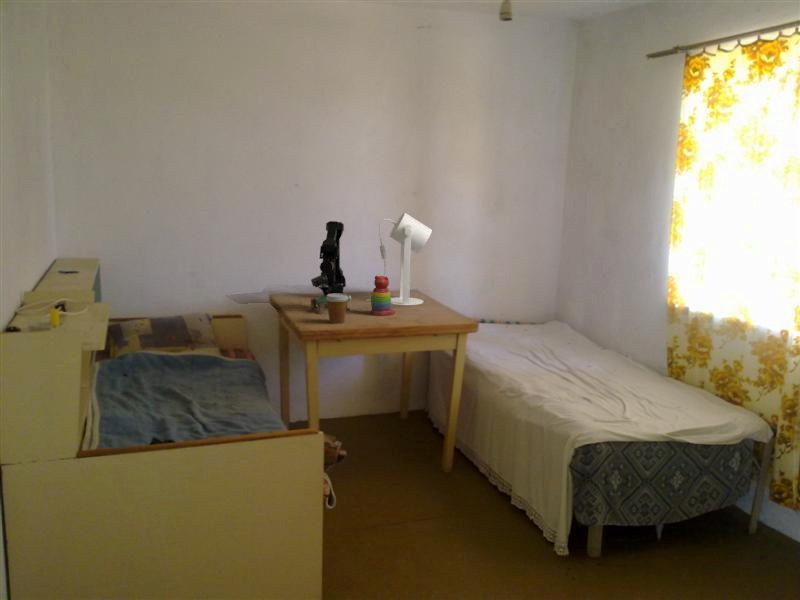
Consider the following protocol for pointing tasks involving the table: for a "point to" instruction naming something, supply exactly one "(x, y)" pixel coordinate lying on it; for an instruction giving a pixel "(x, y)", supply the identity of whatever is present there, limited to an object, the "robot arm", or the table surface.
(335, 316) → the disposable coffee cup
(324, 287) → the robot arm
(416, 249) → the desk lamp
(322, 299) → the bottle
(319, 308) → the cradle
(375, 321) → the table surface
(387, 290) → the stacking bear
